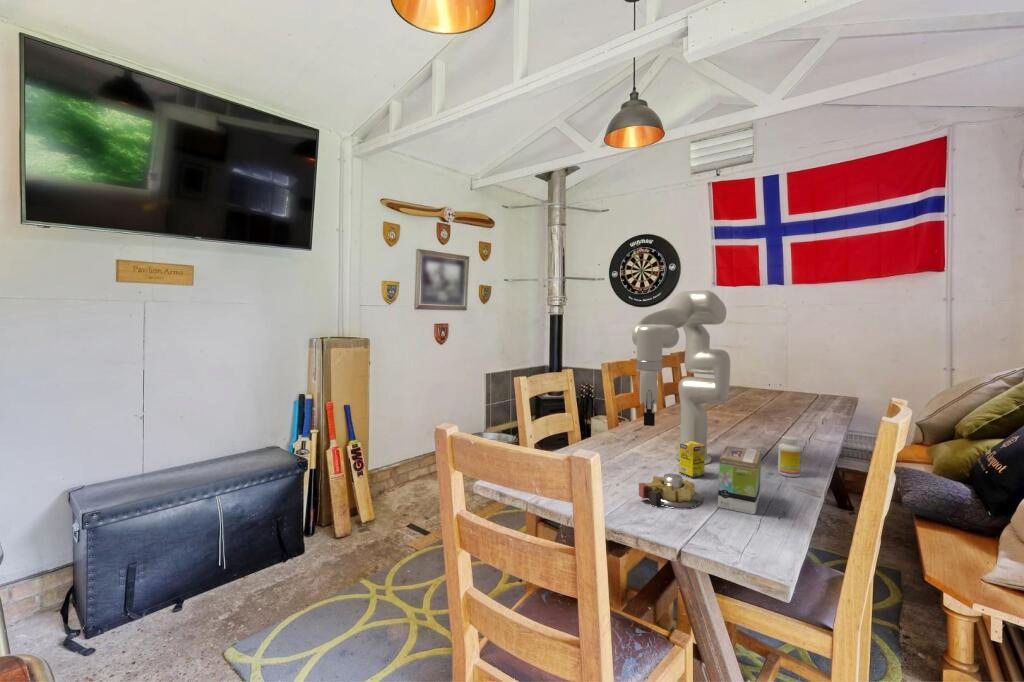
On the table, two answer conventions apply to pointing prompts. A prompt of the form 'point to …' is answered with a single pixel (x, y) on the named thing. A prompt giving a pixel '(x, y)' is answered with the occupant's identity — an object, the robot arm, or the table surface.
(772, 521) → the table surface
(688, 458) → the supplement box
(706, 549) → the table surface
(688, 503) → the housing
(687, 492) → the tan block cluster
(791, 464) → the supplement bottle
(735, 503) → the tea box
